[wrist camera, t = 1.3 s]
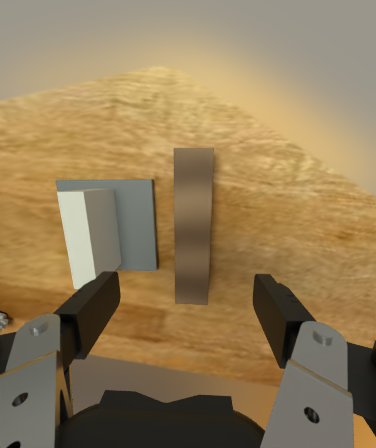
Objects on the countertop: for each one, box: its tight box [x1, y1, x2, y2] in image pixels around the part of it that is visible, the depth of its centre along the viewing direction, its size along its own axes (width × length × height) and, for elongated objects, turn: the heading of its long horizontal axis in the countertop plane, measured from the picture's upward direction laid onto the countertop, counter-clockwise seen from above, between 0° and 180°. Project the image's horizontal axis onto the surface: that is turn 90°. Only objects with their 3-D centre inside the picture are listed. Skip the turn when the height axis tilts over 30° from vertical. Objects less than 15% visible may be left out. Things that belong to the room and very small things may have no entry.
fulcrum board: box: [56, 180, 158, 289], centre depth 21 cm, size 12×12×7 cm
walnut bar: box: [174, 148, 214, 305], centre depth 22 cm, size 18×4×4 cm, turn 179°
